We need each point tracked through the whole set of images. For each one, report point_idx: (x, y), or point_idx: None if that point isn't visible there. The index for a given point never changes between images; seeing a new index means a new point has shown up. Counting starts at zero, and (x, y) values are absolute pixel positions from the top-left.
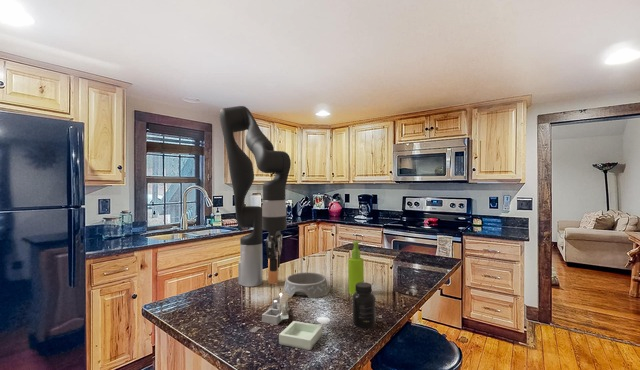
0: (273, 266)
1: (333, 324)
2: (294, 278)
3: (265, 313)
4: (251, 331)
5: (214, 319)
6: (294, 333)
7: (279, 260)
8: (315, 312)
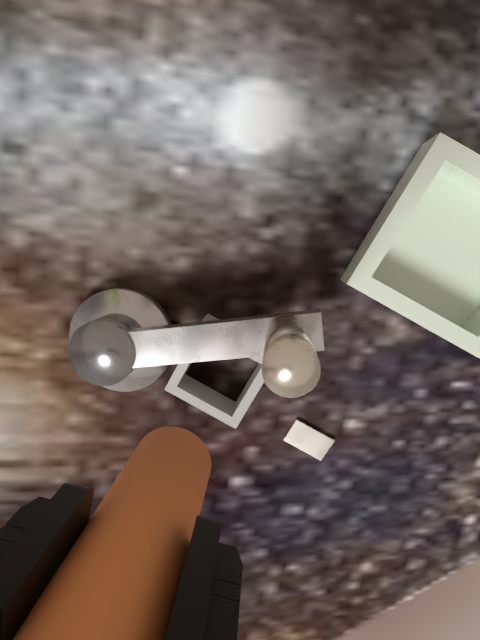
0: (234, 602)
1: (323, 67)
2: None
3: (225, 413)
4: (325, 452)
5: None
6: (400, 280)
7: (30, 545)
8: (161, 150)
